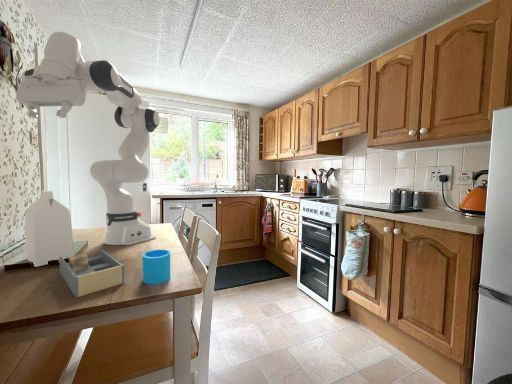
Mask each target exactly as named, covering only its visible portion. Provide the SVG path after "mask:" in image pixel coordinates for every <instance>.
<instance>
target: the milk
mask: <svg viewBox="0 0 512 384" xmlns="http://www.w3.org/2000/svg"><path fill="white" fill-rule="evenodd" d="M53 193H54V192H53V190H48V189H47V190H44V189H43V190H42V191H41V195H40V198H39V199H36V200H35V201H34V202H32V203H31V205H30V206H28V208H26V209H25V212H24V220H25V221H24V230H25V231H24V234H25V235H24V239H25V240H24V241H25V242H24V249H25V250H24V255H25V256H24V258H25V259H27V260H29V261H31V262H33V264H34V265H33V266H34V267H35V268H36V267H40V266H45V265H49V264H48V261H50V260H53V259H58V258H59V257H61V256H62V258H63V257H67V256H71V255H75V248H74V246H75V245H74V236H73V225H72V215H71V211H70V209H69V208H68V207H66V206H65V205H64V204H62V203H60V202H59V201H57V200H56V199H55V197H54V194H53ZM27 260H26V261H27Z"/></svg>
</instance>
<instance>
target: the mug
mask: <svg viewBox="0 0 512 384" xmlns="http://www.w3.org/2000/svg"><path fill="white" fill-rule="evenodd" d="M170 279H171V251H170V250H168V249H153V250H148V251H146V252H144V253H143V254H142V282H143V283H145V284H146V285H158V284H162V283H165V282H168V281H169V280H170Z"/></svg>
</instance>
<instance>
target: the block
mask: <svg viewBox="0 0 512 384" xmlns="http://www.w3.org/2000/svg"><path fill="white" fill-rule="evenodd" d="M88 258H89V256H88V255H87V254H86V253H85V252H84V253H79V254H74V255H73V256H69V259H68V260H69V261H68V262H69V265H70V268H71V269H72V270H73V272H76V271H81V270H85V269H88Z"/></svg>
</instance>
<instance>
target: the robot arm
mask: <svg viewBox="0 0 512 384" xmlns="http://www.w3.org/2000/svg"><path fill="white" fill-rule="evenodd" d="M81 45H82V44H81V42H80V40H79V39H77V38H76V37H75V36H73V35H71V34H69V33H66V32H60V31H56V32H55V31H54V32H53V33H51V34H50V35H49V36H48V39H47V41H46V43H45V47H44V50H43V55H44V56H43V58H42V60H41V62H40V63H39V65H37V66H35V67H33V68H30V69H27V70H24V71H23V72H22V73H21V78H23V79H22V80H21V81H20V83H19V85H18V88H17V90H16V95H15V98H16V100H17V102H19V104H21V105H23V106H25V107H26V108H27V110H28V112H27V116H28V117H30V118H31V119H37V118H38V117H39V113H38V112H37V109H38V107H43V108H44V107H61V108H60V109H57V110H56V116H57V117H58V118H60V119H62V118H63V119H66V117H67V113H69V112H70V111H71V110H72V107H82V106H83V105H85V102H86V94H87V93H86V92H87V91H103V92H105V95H106V98H107V100H108V101H109V102H110V103H111V104H113V105H115V106H117V108H115V111H114V115H113V116H114V121H115V123H116V124H117V126H119V127H120V128H124V129H130V132H129V133H127V134H126V136H125V137H124V139H123V141H122V143H121V144H120V146H119V147H118V155H119V157H120V159H102V160H97V161H94V162H93V163H92V164H91V166H90V170H89V171H90V172H89V173H90V176H91V177H92V179H93V180H94V181H95V182H97V183H98V184H99V185H100V187H101V188H102V190H103V191H104V194H105V197H106V198H105V199H106V209H107V210H106V214H105V215H106V216H105V223H106V233H105V238H104V242H103V244H104V245H108V246H130V245H131V246H132V245H134V244H139V243H143V242H147V241H150V240H154V239H156V238H157V236H156V234H154V233H152V231H151V227H150V226H149V224H147V223H145V222H144V221H143V220H142V219H140V217H141V216H142V213H141V212H140V211H138V212H137V211H135V208H134V207H135V205H134V204H135V201H134V195H133V194H132V193H131V192H130V191H128V190H127V189H125V187H124V186H123V184H134V185H135V184H138V183H144V182H145V181H146V180H147V178H148V177H149V168H148V166H147V164H146V163H145V162H143V161H142V160H143V156H144V155H145V152H146V151H147V148H148V146H149V142H150V134H149V133H153V132H154V131H155V130H156V129H157V128H158V127H159V124H160V116H159V113H158V111H157V110H156V109H155V108H151V107H142V102H143V99H142V96H141V95H140V93H139V92H138V91H137V90H136V89H135V88H134V86H133V84H132V83H131V82H130V81H129V80H128V79H127V78H126V77H124V76H123V75H122V74H121V73H120V72H119V71H118V70H117V68H116V67H115V66H114V65H113V63H111V62H110V61H109V60H106V59H103V60H94V61H93V60H84V58H83V54H82V53H81V49H82V46H81ZM138 217H139V218H138Z"/></svg>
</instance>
